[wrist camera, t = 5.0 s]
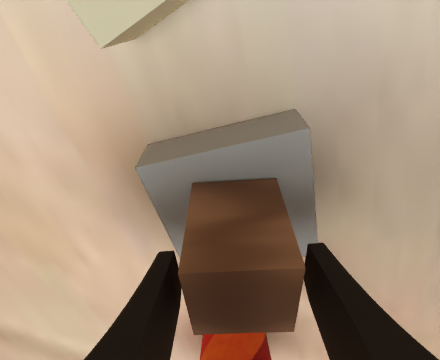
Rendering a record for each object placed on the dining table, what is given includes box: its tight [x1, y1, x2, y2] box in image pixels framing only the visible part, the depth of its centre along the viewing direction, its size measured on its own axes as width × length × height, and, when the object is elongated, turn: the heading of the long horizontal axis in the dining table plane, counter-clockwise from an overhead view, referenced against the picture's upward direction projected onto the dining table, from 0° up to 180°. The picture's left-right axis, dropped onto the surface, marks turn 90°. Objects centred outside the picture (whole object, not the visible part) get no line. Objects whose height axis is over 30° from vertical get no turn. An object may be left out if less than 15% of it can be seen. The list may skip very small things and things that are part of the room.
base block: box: [135, 109, 318, 257], centre depth 15 cm, size 8×8×3 cm
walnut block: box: [178, 178, 305, 335], centre depth 11 cm, size 4×4×5 cm
